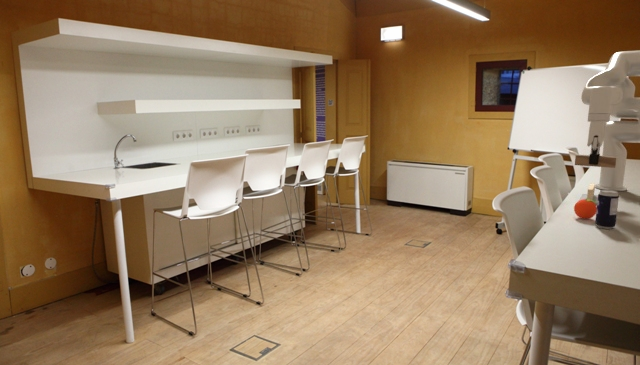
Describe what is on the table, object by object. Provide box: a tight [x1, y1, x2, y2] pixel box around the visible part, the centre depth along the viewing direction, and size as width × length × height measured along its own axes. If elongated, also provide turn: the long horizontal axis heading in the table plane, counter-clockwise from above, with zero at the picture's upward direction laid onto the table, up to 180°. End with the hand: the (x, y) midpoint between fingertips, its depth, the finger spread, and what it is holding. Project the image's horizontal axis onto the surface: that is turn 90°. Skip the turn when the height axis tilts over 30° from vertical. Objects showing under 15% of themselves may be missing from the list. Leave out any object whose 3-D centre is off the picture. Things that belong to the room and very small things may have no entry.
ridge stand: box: [578, 183, 598, 207], centre depth 190 cm, size 18×7×6 cm, turn 146°
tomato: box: [573, 199, 597, 220], centre depth 161 cm, size 8×7×7 cm
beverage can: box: [594, 189, 620, 230], centre depth 149 cm, size 6×6×12 cm
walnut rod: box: [574, 153, 617, 168], centre depth 185 cm, size 4×14×4 cm, turn 56°
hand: (593, 163), depth 186 cm, fingers closed on walnut rod, 4 cm apart
